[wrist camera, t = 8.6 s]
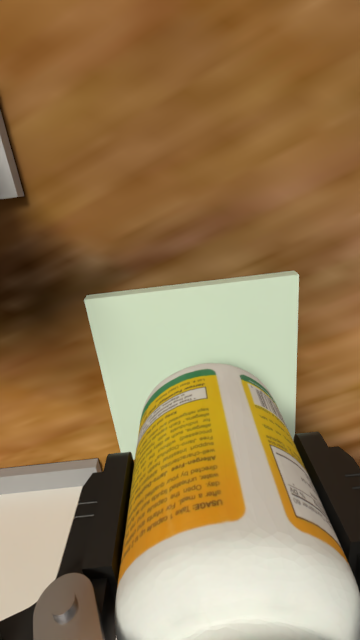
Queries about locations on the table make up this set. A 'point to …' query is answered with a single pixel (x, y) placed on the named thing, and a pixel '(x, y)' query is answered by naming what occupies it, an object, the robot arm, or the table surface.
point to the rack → (33, 491)
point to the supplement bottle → (227, 522)
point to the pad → (195, 339)
